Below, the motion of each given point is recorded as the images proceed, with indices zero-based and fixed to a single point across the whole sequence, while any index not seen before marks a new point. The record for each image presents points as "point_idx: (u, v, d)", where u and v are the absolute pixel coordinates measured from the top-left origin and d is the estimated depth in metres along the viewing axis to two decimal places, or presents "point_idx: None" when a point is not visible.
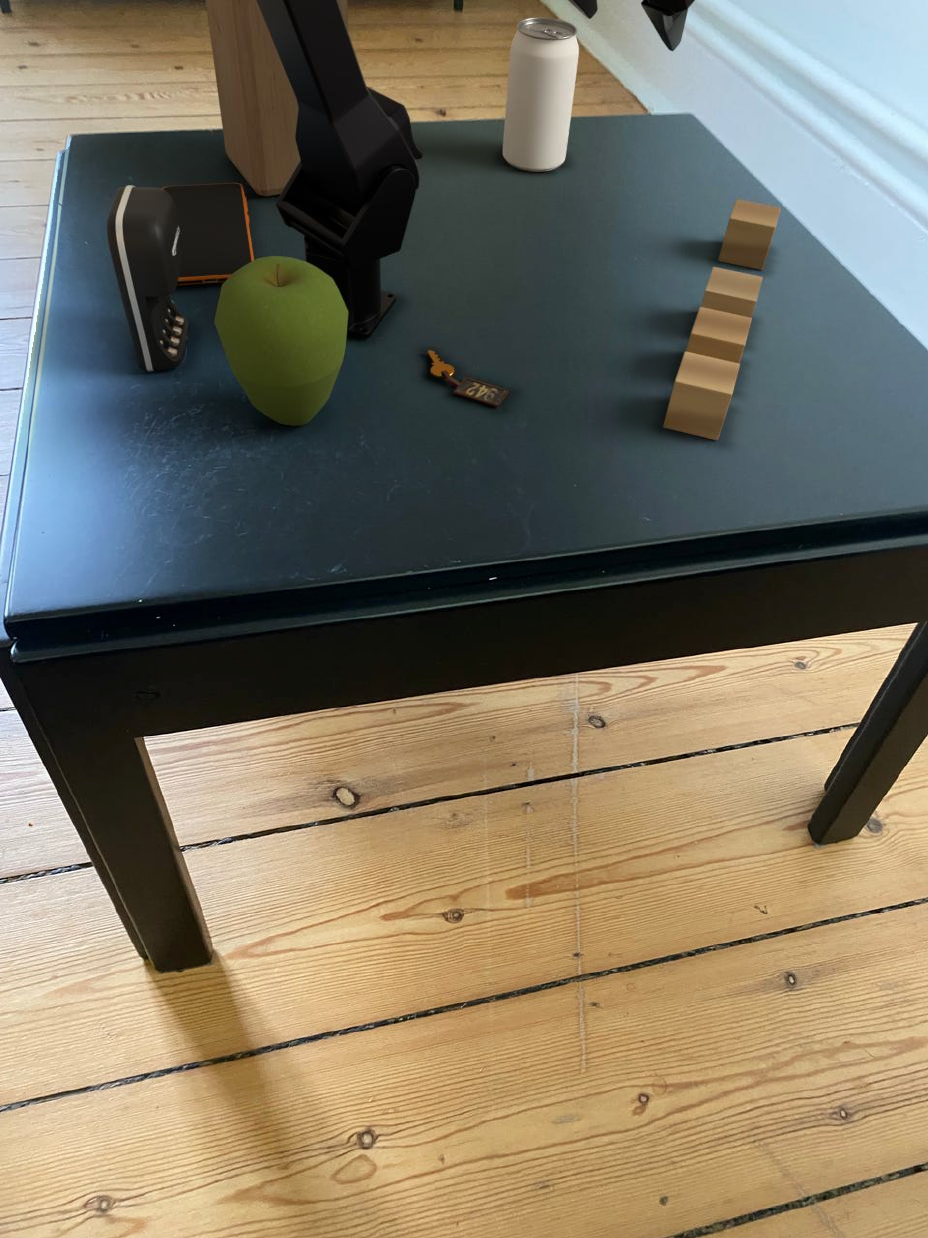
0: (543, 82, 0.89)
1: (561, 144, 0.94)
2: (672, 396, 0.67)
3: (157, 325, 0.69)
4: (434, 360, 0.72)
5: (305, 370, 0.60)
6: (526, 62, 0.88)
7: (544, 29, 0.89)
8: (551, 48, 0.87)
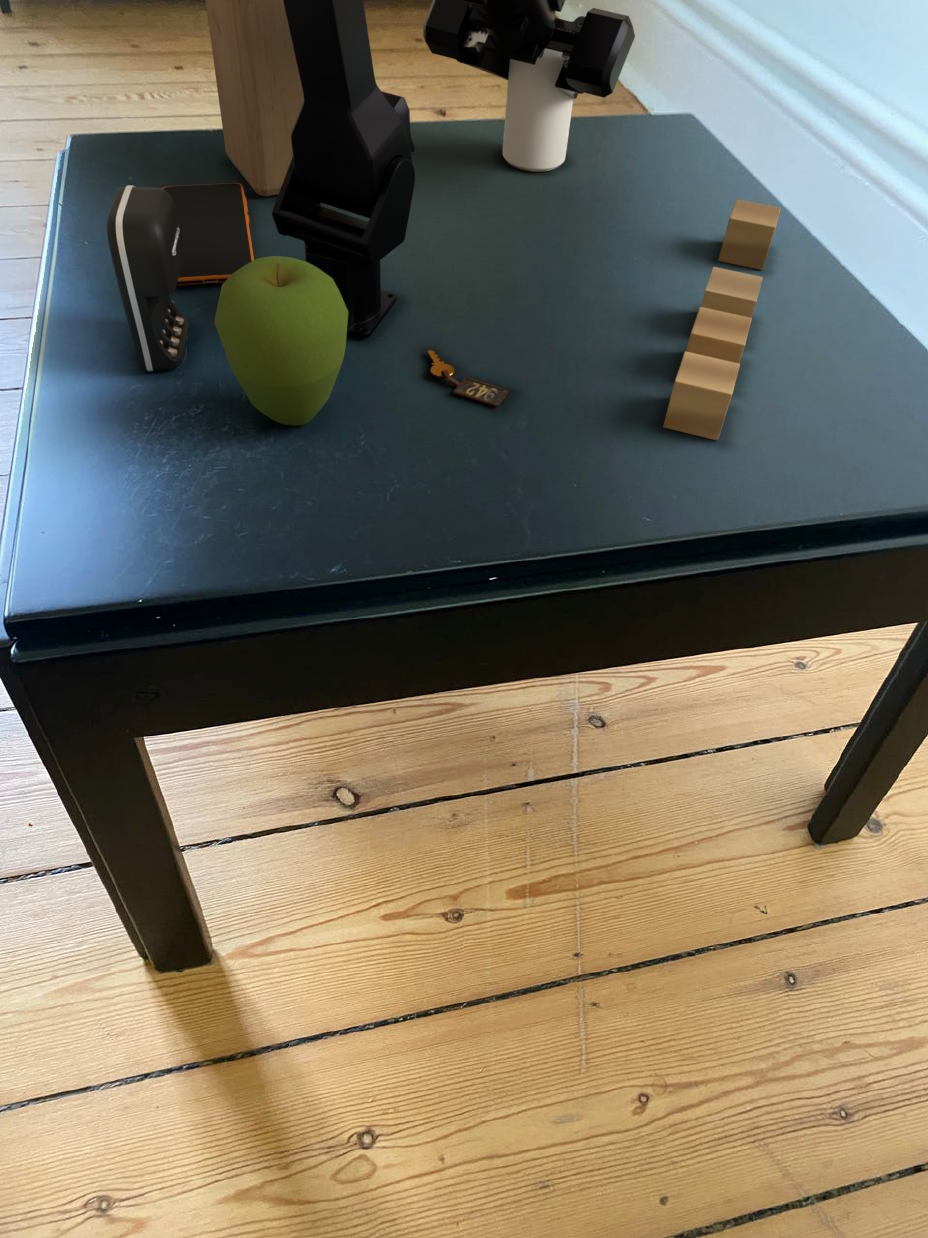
0: (543, 82, 0.89)
1: (561, 144, 0.94)
2: (672, 396, 0.67)
3: (157, 325, 0.69)
4: (434, 360, 0.72)
5: (305, 370, 0.60)
6: None
7: None
8: None
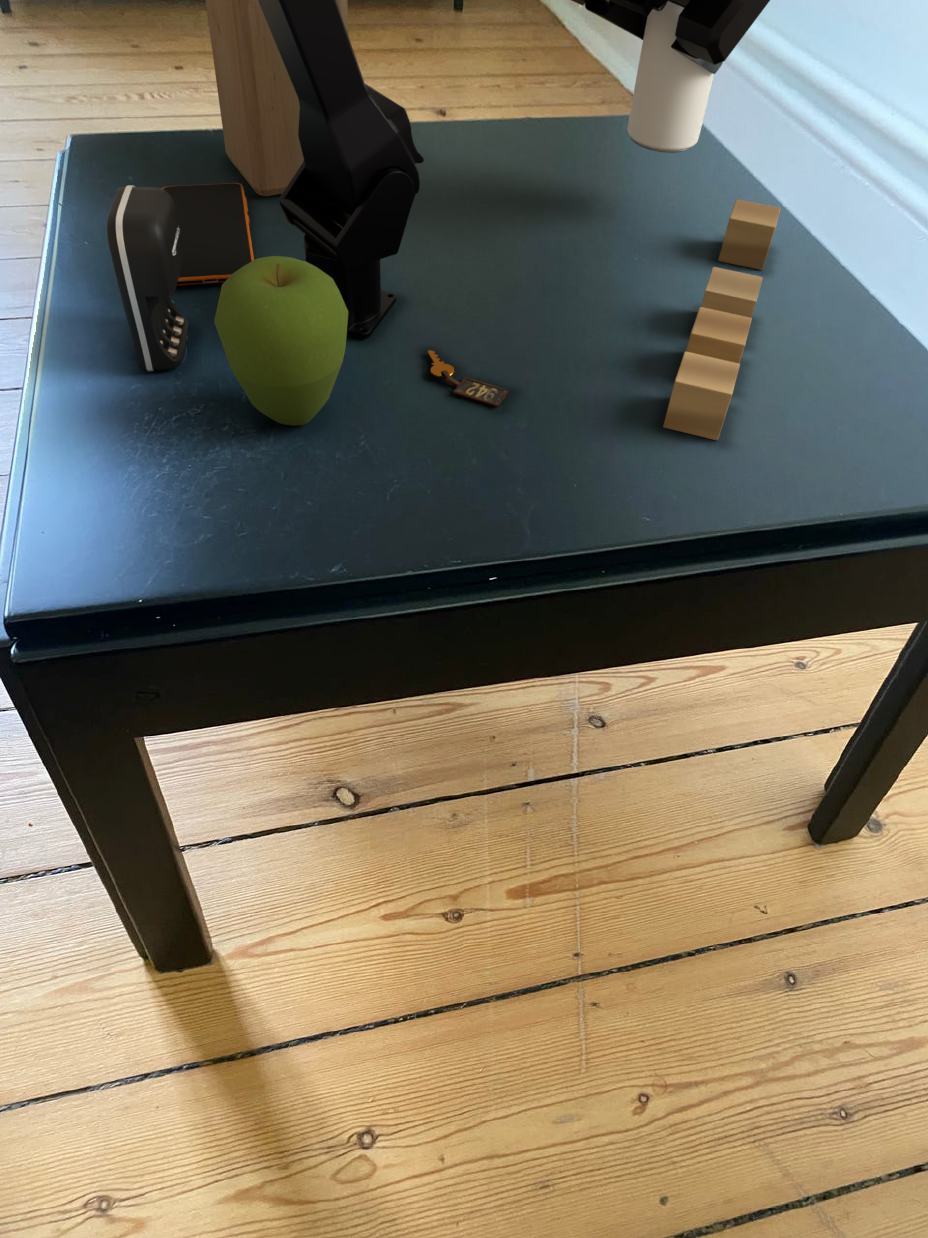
0: None
1: (687, 124, 0.82)
2: (672, 396, 0.67)
3: (157, 325, 0.69)
4: (433, 360, 0.72)
5: (305, 370, 0.60)
6: (657, 19, 0.77)
7: None
8: None
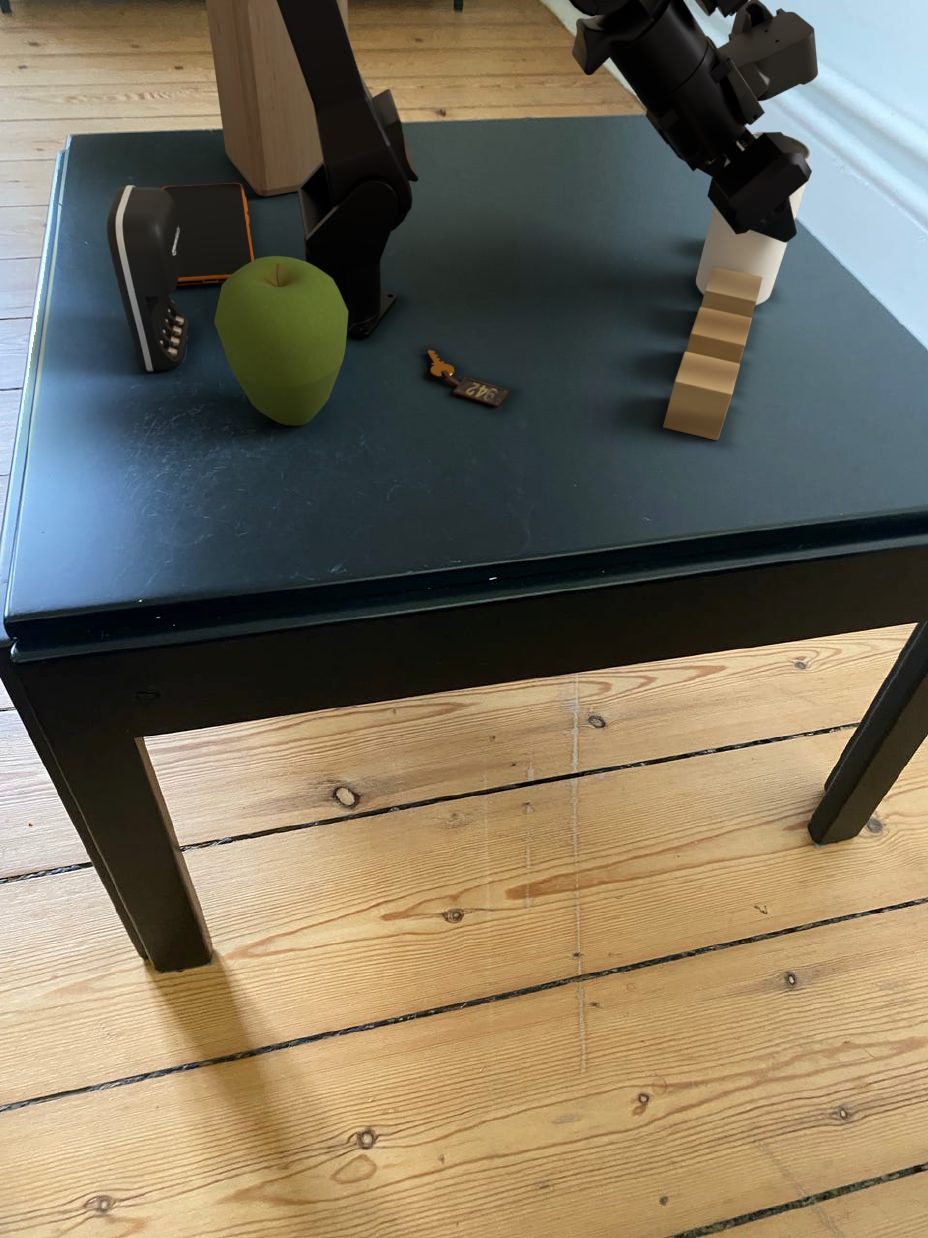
0: None
1: None
2: (672, 396, 0.67)
3: (157, 325, 0.69)
4: (433, 360, 0.72)
5: (305, 370, 0.60)
6: None
7: None
8: None
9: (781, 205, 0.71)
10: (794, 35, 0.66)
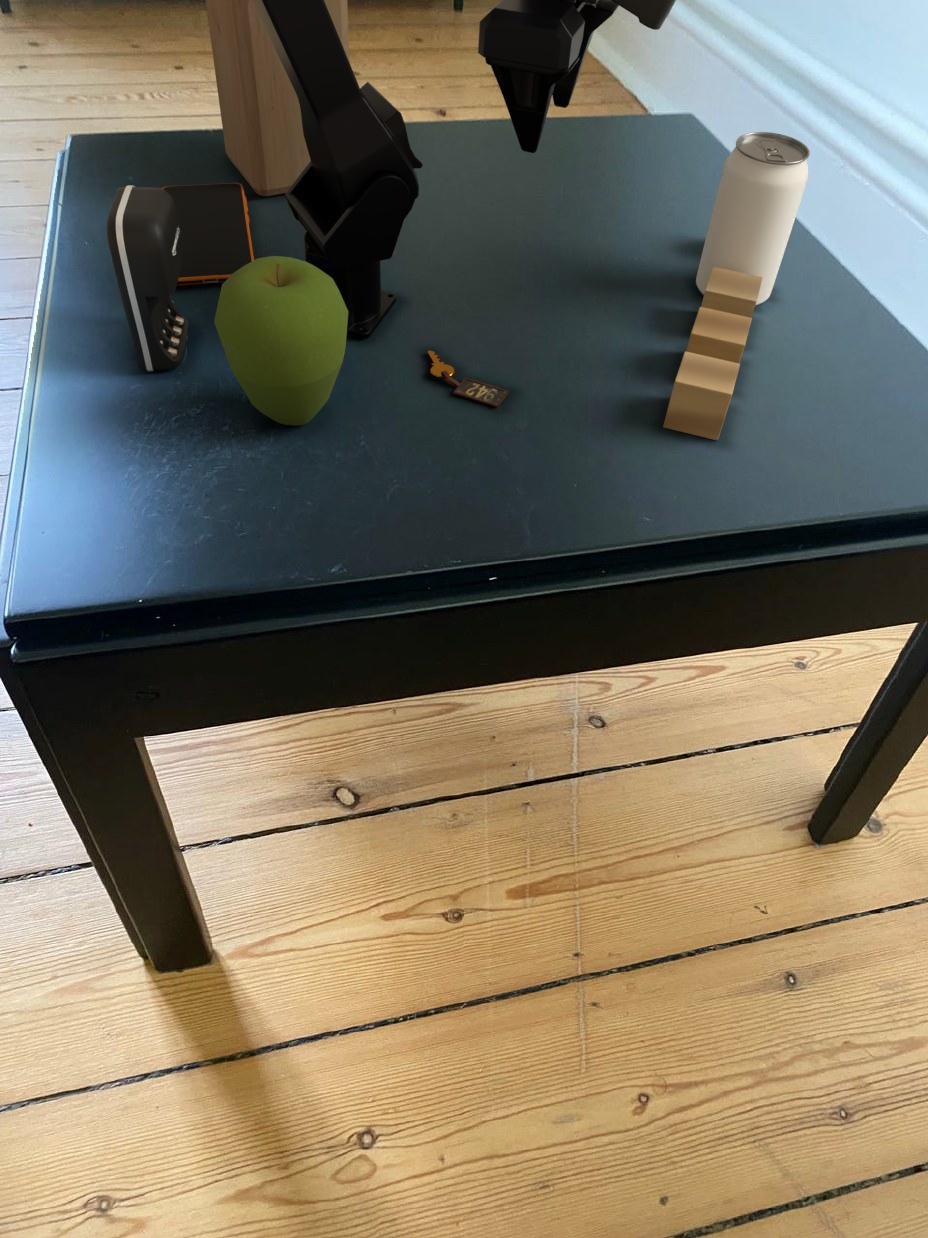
0: (732, 203, 0.74)
1: None
2: (672, 396, 0.67)
3: (157, 325, 0.69)
4: (433, 361, 0.72)
5: (305, 370, 0.60)
6: (724, 175, 0.74)
7: (771, 148, 0.73)
8: (750, 168, 0.72)
9: (538, 100, 0.66)
10: None
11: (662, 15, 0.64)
